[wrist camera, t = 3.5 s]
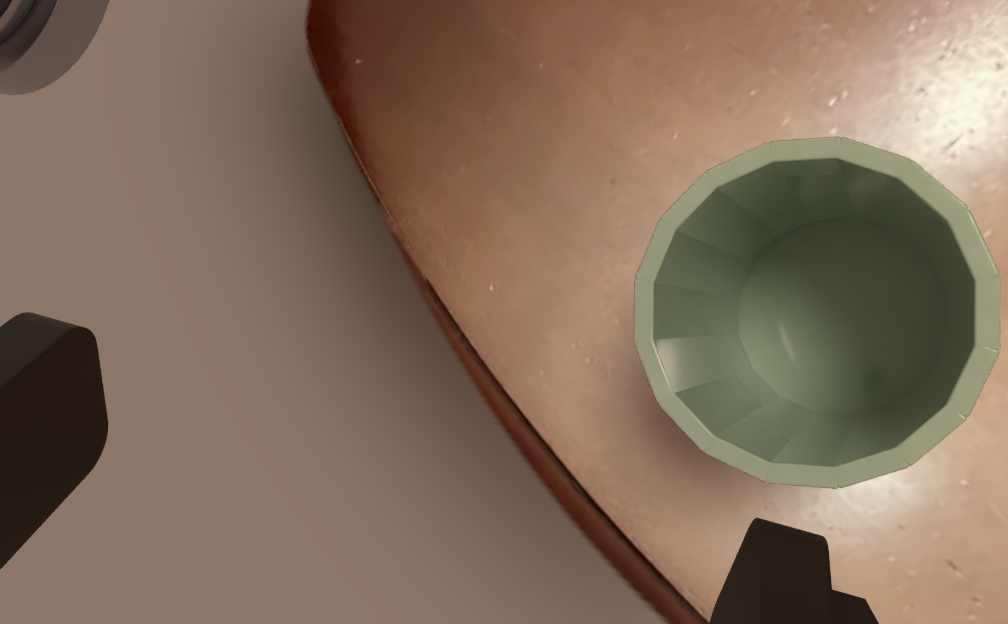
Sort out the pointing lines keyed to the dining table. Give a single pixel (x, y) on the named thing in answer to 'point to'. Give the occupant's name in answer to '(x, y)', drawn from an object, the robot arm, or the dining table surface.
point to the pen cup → (817, 312)
